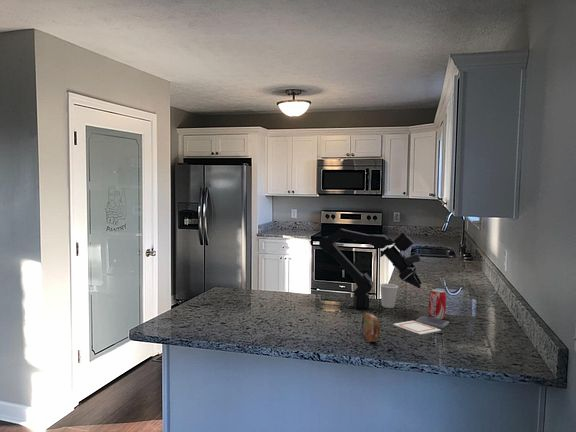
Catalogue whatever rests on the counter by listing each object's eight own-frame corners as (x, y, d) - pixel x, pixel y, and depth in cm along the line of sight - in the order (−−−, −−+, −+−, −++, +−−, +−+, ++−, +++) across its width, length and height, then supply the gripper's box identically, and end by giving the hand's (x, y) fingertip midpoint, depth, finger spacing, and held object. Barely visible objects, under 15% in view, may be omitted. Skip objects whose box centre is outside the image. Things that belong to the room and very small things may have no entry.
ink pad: (415, 322, 187) (416, 319, 187) (422, 318, 194) (422, 315, 194) (442, 328, 181) (442, 325, 181) (448, 324, 187) (449, 321, 187)
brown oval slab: (360, 331, 170) (361, 309, 170) (368, 332, 171) (370, 309, 170) (371, 345, 155) (372, 321, 155) (380, 345, 156) (381, 321, 155)
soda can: (446, 320, 192) (448, 292, 192) (428, 319, 194) (430, 291, 193) (443, 316, 199) (445, 289, 199) (427, 315, 201) (429, 288, 200)
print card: (392, 324, 182) (392, 323, 182) (413, 321, 189) (413, 320, 189) (420, 334, 171) (420, 333, 171) (441, 330, 177) (441, 329, 177)
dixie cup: (385, 303, 219) (386, 282, 218) (400, 307, 213) (401, 285, 212) (375, 305, 213) (376, 284, 212) (390, 309, 207) (391, 287, 206)
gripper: (409, 248, 190) (434, 277, 187) (411, 244, 208) (435, 271, 205) (388, 265, 193) (413, 294, 190) (392, 260, 211) (416, 286, 208)
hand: (420, 285), depth 198 cm, fingers open, 9 cm apart
